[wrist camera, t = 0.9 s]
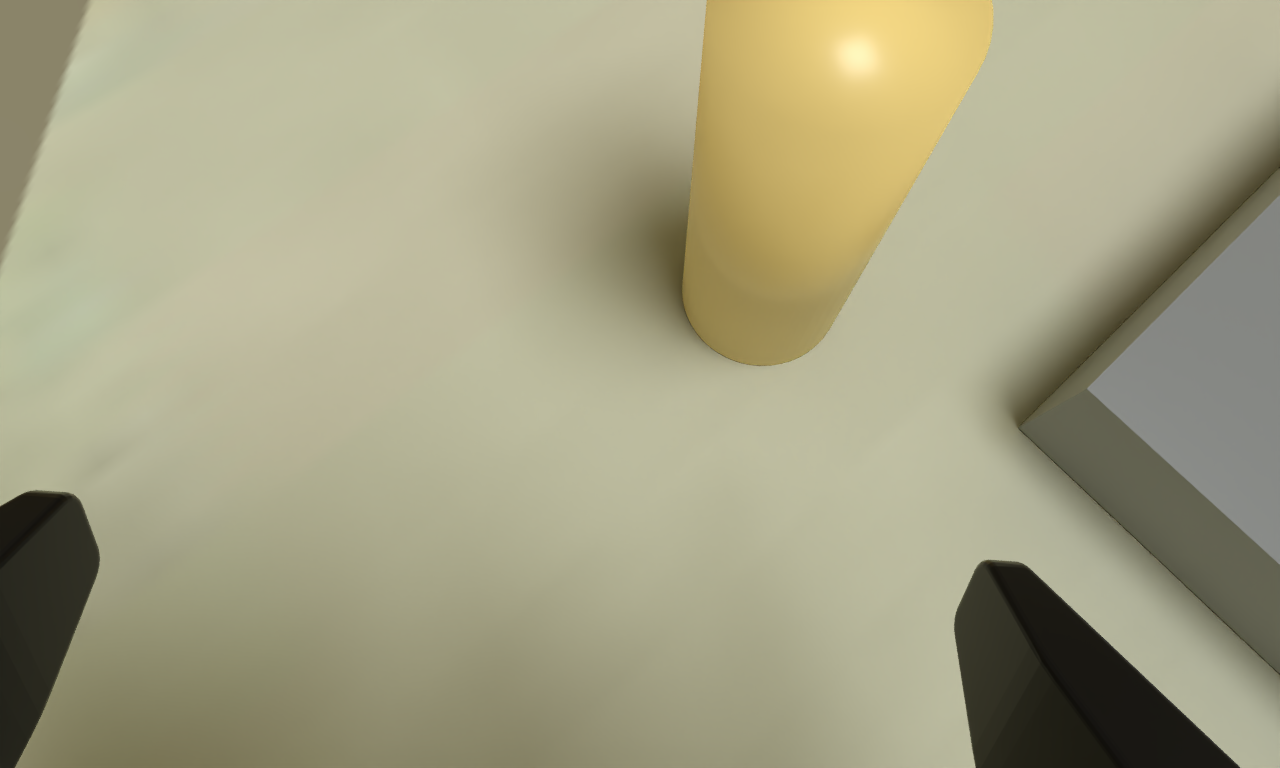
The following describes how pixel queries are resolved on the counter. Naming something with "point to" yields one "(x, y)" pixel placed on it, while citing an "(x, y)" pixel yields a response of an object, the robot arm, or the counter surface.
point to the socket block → (1192, 422)
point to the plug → (811, 154)
